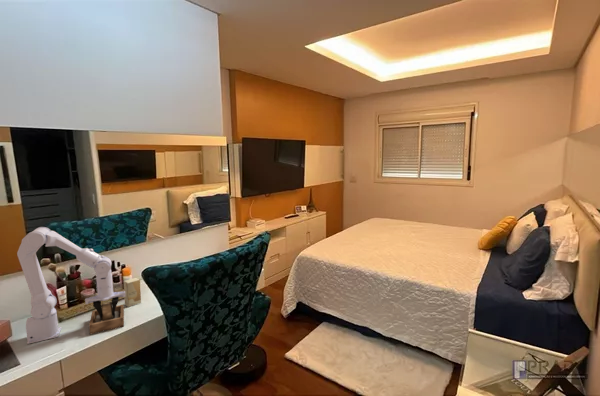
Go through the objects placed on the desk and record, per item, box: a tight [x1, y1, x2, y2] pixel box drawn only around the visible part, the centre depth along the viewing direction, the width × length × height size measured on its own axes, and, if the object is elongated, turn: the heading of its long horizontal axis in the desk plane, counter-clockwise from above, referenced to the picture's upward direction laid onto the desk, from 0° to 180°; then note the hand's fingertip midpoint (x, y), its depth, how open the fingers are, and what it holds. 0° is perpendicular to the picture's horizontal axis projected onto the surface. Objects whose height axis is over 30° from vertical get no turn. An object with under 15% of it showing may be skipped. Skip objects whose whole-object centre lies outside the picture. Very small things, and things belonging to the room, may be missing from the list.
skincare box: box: [123, 277, 142, 308], centre depth 150 cm, size 6×4×12 cm
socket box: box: [88, 304, 125, 335], centre depth 133 cm, size 12×14×4 cm
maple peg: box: [101, 301, 113, 321], centre depth 132 cm, size 4×4×7 cm
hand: (107, 315), depth 132 cm, fingers closed on maple peg, 4 cm apart
